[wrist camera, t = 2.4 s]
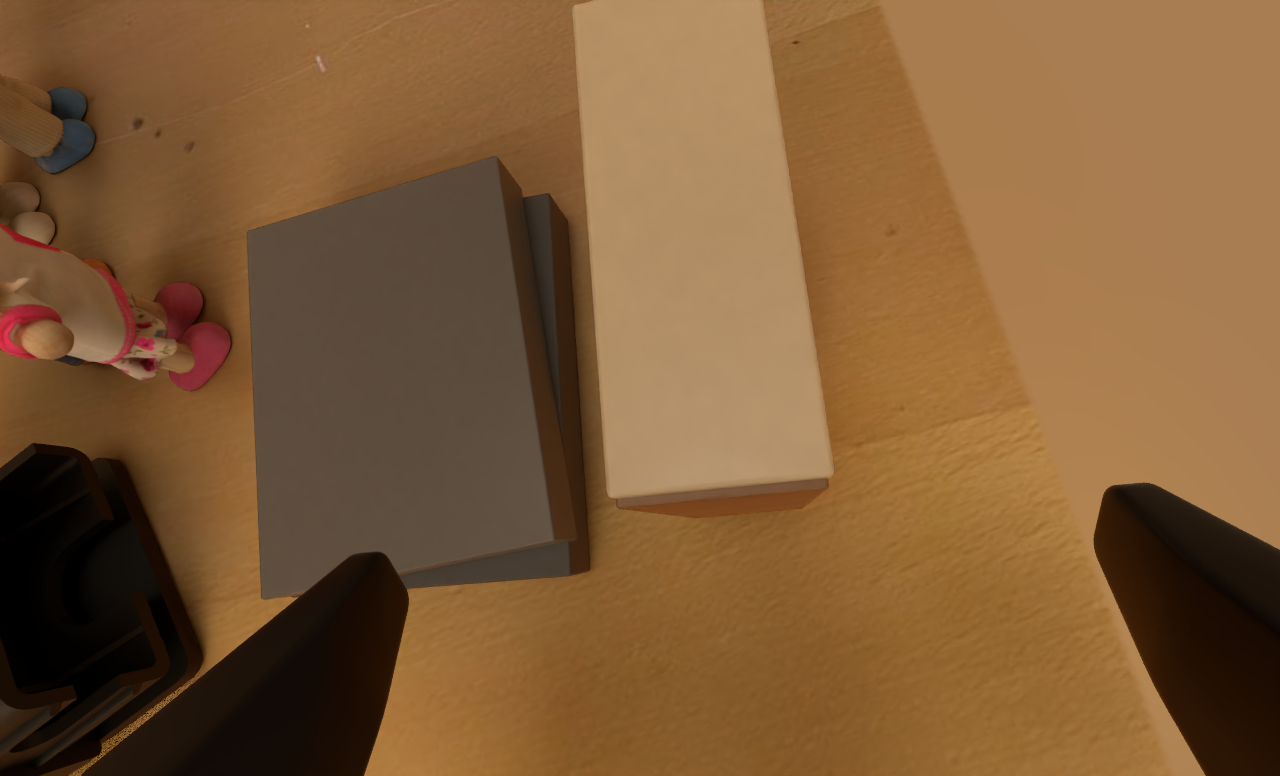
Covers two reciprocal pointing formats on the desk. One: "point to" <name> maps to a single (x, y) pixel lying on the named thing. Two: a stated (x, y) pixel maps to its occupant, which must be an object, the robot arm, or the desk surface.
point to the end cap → (80, 611)
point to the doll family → (83, 268)
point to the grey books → (418, 386)
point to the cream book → (696, 263)
